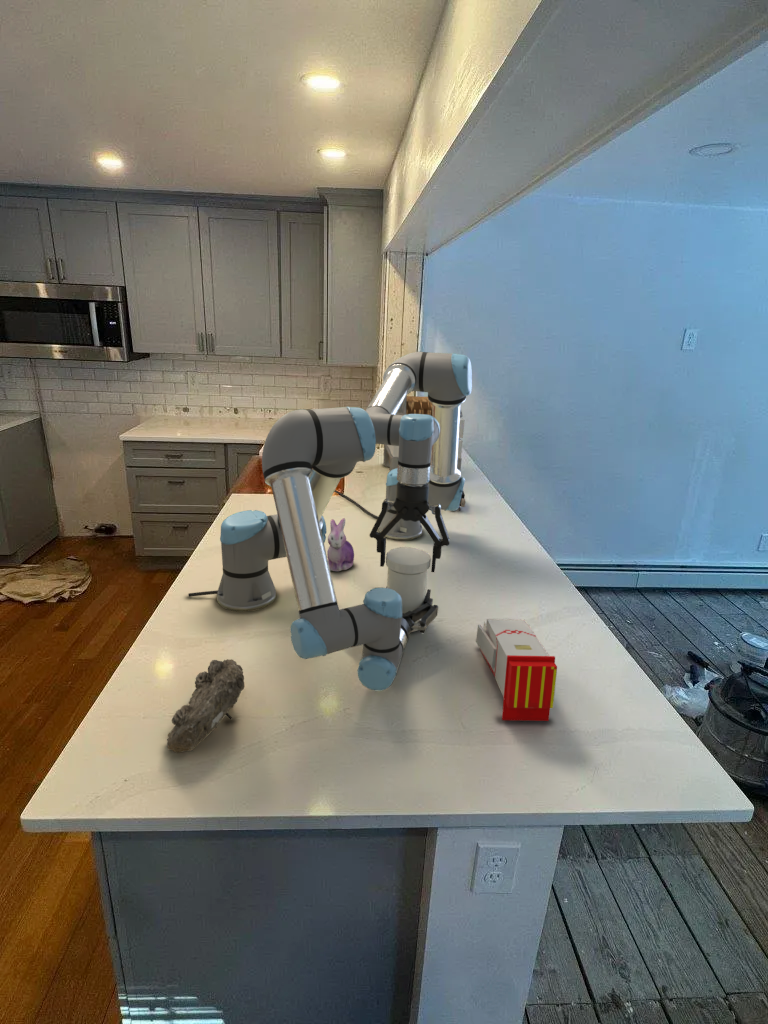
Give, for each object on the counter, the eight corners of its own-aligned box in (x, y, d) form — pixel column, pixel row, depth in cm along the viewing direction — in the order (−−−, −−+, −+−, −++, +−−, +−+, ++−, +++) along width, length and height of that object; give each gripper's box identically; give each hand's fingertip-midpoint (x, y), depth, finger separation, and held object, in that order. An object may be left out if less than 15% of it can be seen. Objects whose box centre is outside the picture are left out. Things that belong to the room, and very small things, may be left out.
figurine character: (465, 515, 224) (460, 499, 237) (467, 498, 221) (462, 483, 234) (448, 515, 224) (444, 499, 237) (450, 498, 220) (445, 482, 234)
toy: (523, 604, 135) (566, 662, 106) (518, 656, 138) (559, 727, 109) (472, 603, 135) (501, 661, 105) (468, 655, 138) (496, 726, 108)
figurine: (332, 575, 167) (332, 527, 162) (319, 561, 175) (319, 516, 170) (361, 569, 171) (362, 523, 166) (347, 556, 179) (348, 512, 174)
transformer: (382, 463, 289) (386, 382, 275) (445, 464, 293) (451, 384, 279) (390, 482, 257) (394, 392, 243) (460, 483, 261) (468, 394, 247)
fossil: (192, 660, 117) (244, 628, 112) (224, 691, 120) (276, 661, 115) (142, 746, 98) (202, 712, 93) (182, 779, 101) (242, 748, 96)
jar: (403, 636, 137) (407, 570, 131) (377, 620, 144) (380, 556, 138) (431, 624, 143) (436, 560, 137) (405, 608, 150) (409, 547, 144)
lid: (385, 554, 143) (385, 546, 142) (428, 555, 144) (428, 547, 143) (386, 573, 133) (386, 564, 132) (432, 574, 133) (432, 566, 133)
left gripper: (341, 643, 128) (366, 597, 149) (439, 659, 124) (451, 610, 145) (342, 614, 126) (367, 572, 146) (442, 630, 122) (453, 584, 142)
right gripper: (465, 482, 133) (457, 566, 140) (365, 473, 136) (362, 555, 144) (464, 491, 126) (456, 579, 133) (358, 482, 129) (356, 568, 137)
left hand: (408, 591), depth 146 cm, fingers closed on jar, 10 cm apart
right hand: (407, 567), depth 139 cm, fingers open, 12 cm apart
